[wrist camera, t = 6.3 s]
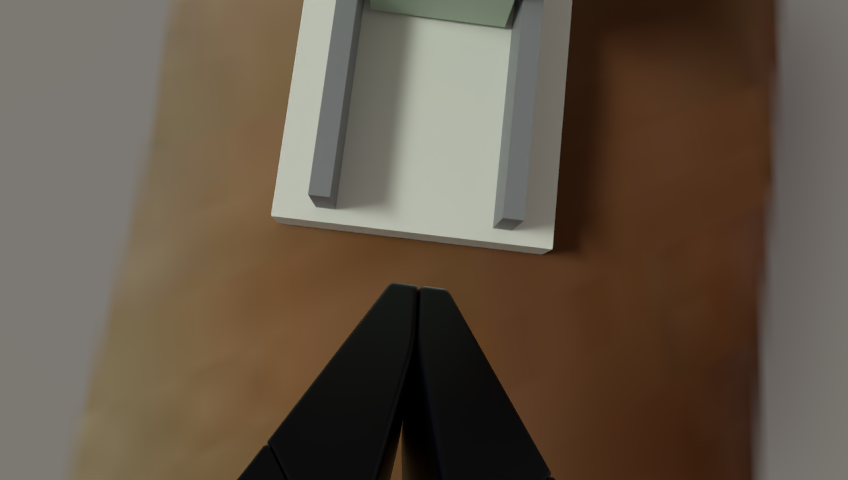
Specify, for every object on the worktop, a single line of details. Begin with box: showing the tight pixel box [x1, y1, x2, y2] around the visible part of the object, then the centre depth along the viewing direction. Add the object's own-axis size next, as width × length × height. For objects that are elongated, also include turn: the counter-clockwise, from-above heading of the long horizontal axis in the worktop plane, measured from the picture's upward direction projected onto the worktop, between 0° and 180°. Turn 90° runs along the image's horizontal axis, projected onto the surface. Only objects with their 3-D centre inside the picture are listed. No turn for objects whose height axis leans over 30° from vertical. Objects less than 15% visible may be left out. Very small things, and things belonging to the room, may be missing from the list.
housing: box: [271, 0, 572, 254], centre depth 21 cm, size 16×10×6 cm, turn 174°
